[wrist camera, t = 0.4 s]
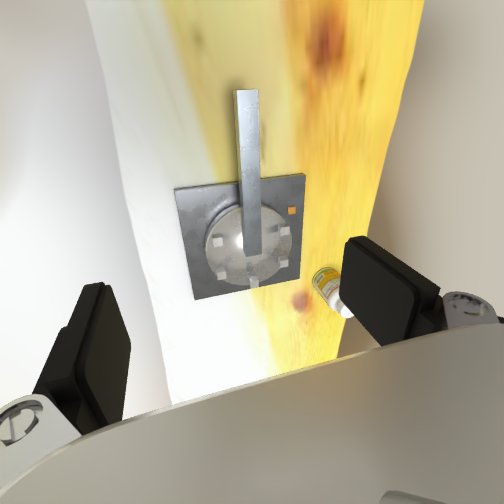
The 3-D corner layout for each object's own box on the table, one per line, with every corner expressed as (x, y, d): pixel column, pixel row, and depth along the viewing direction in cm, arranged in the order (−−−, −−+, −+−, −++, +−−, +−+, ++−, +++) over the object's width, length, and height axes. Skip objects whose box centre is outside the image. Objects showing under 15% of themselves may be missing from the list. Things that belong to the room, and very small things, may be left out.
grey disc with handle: (181, 92, 34) (184, 93, 30) (290, 86, 37) (305, 86, 33) (209, 284, 49) (213, 300, 45) (285, 269, 52) (295, 283, 48)
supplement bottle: (336, 284, 59) (363, 316, 51) (312, 291, 59) (336, 324, 51) (336, 263, 57) (365, 293, 48) (311, 271, 56) (337, 302, 48)
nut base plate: (174, 189, 41) (174, 191, 40) (303, 173, 45) (306, 175, 44) (194, 296, 51) (194, 301, 50) (297, 275, 55) (300, 279, 54)
